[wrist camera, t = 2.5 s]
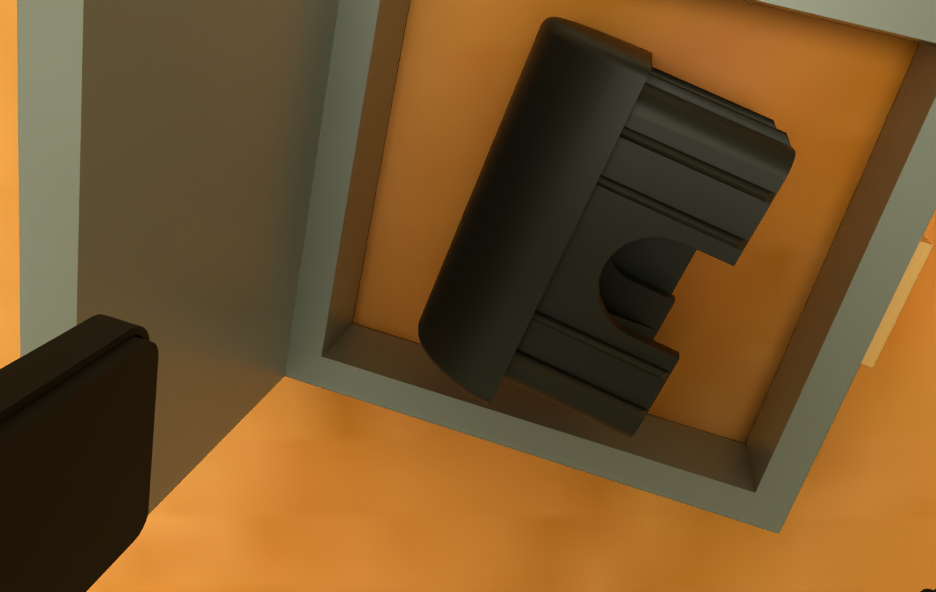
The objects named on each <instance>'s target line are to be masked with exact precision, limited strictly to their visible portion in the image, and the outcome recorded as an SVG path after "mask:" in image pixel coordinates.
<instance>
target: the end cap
mask: <svg viewBox="0 0 936 592" xmlns="http://www.w3.org/2000/svg"><path fill="white" fill-rule="evenodd" d="M794 158H795V150H794V149H793V148H792V147H791V146H790V142H789V139H788V136H787V133H785V132H783V131H781V130H778V129H776V126H775V123H774V121H773V120H772V119H769V118H767V117H765V116H763V115H760V114H758V113H756V112H753V111H751V110H749V109H747V108H744V107H742V106H740V105H738V104H735V103H733V102H731V101H728V100H726V99H724V98H722V97H719V96H717V95H715V94H713V93H710V92H708V91H706V90H703V89H701V88H699V87H697V86H694V85H692V84H690V83H688V82H685V81H683V80H681V79H678V78H676V77H674V76H672V75H669V74H667V73H665V72H663V71H660V70H658V69H656V68H654V67H652V53H650V52H648V51H646V50H643V49H641V48H639V47H636V46H634V45H632V44H629V43H627V42H625V41H622V40H620V39H617V38H615V37H612V36H610V35H607V34H605V33H602V32H600V31H597V30H595V29H592V28H590V27H587V26H584V25H581V24H579V23H575V22H572V21H569V20H566V19H562V18H558V17H549V18H547V19H546V20H544V21H543V23H542V25H541V27H540V29H539V31H538V34H537V36H536V39H535V41H534V44H533V46H532V48H531V51H530V53H529V56H528V58H527V61H526V63H525V65H524V68H523V70H522V73H521V75H520V78H519V80H518V83H517V85H516V87H515V90H514V92H513V95H512V97H511V100H510V102H509V104H508V107H507V109H506V112H505V114H504V117H503V119H502V121H501V124H500V126H499V129H498V131H497V134H496V136H495V138H494V141H493V143H492V146H491V148H490V151H489V153H488V155H487V158H486V160H485V163H484V165H483V168H482V170H481V172H480V175H479V177H478V180H477V182H476V185H475V187H474V189H473V192H472V194H471V197H470V199H469V202H468V204H467V206H466V209H465V211H464V214H463V216H462V219H461V221H460V223H459V226H458V228H457V231H456V233H455V236H454V238H453V241H452V243H451V245H450V248H449V250H448V253H447V255H446V258H445V260H444V262H443V265H442V267H441V270H440V272H439V275H438V277H437V279H436V282H435V284H434V287H433V289H432V292H431V294H430V296H429V299H428V301H427V304H426V306H425V309H424V311H423V313H422V316H421V318H420V321H419V324H418V335H419V339H420V342H421V345H422V348H423V349H424V351H425V352H426V354H427V356H428V357H429V359H430V361H431V362H432V363H433V364H434V365H435V366H436V367H437V369H438V370H439V371H440V372H441V373H442V374H443V375H444V376H445V377H447V378H448V379H449V380H450V381H451V382H452V383H454V384H455V385H456V386H458V387H459V388H461V389H462V390H464V391H465V392H467V393H468V394H469V395H471V396H473V397H475V398H476V399H478V400H480V401H482V402H484V403H486V404H488V405H490V403H491V401H492V399H493V397H494V395H495V393H496V391H497V389H498V387H499V385H500V383H501V381H502V378H503V379H505V380H507V381H510V382H512V383H514V384H516V385H518V386H520V387H522V388H524V389H527V390H529V391H531V392H533V393H535V394H537V395H539V396H541V397H544V398H546V399H548V400H550V401H552V402H554V403H556V404H558V405H561V406H563V407H565V408H567V409H569V410H571V411H573V412H575V413H578V414H580V415H582V416H584V417H586V418H588V419H590V420H592V421H595V422H597V423H599V424H601V425H603V426H605V427H607V428H610V429H612V430H614V431H616V432H618V433H620V434H622V435H624V436H627V437H629V438H631V437H632V436H633V435H634V434H635V433H636V431H637V430H638V428H639V426H640V425H641V423H642V421H643V419H644V418H645V416H646V414H647V413H648V411H649V409H650V408H651V406H652V404H653V402H654V401H655V399H656V397H657V396H658V394H659V392H660V391H661V389H662V387H663V386H664V384H665V382H666V380H667V379H668V377H669V375H670V374H671V372H672V370H673V369H674V367H675V365H676V363H677V362H678V360H679V352H677V351H675V350H673V349H671V348H669V347H666V346H664V345H662V344H660V343H658V342H656V341H653V339H654V337H655V335H656V333H657V332H658V330H659V328H660V326H661V325H662V323H663V321H664V319H665V318H666V316H667V314H668V312H669V311H670V309H671V307H672V305H673V303H674V302H675V297H674V296H673V295H671V294H672V292H673V290H674V289H675V287H676V285H677V283H678V281H679V280H680V278H681V276H682V274H683V273H684V271H685V269H686V267H687V265H688V264H689V262H690V260H691V258H692V257H693V255H694V253H695V251H696V249H697V250H699V251H702V252H704V253H706V254H708V255H710V256H713V257H715V258H717V259H719V260H722V261H724V262H726V263H728V264H730V265H733V266H734V265H735V263H736V262H737V260H738V258H739V257H740V255H741V253H742V252H743V250H744V248H745V247H746V245H747V243H748V241H749V240H750V238H751V236H752V235H753V233H754V231H755V230H756V228H757V226H758V224H759V223H760V221H761V219H762V218H763V216H764V214H765V213H766V211H767V209H768V208H769V206H770V204H771V202H772V201H773V199H774V197H775V196H776V194H777V192H778V191H779V189H780V187H781V185H782V184H783V182H784V180H785V179H786V177H787V175H788V173H789V171H790V169H791V167H792V164H793V161H794Z"/></svg>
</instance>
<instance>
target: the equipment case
mask: <svg viewBox="0 0 936 592" xmlns="http://www.w3.org/2000/svg"><path fill="white" fill-rule="evenodd" d="M744 1H748V2H753V3H757V4H761V5H765V6H769V7H774V8H778V9H782V10H786V11H790V12H794V13H799V14H803V15H807V16H811V17H815V18H820V19H824V20H828V21H832V22H836V23H841V24H845V25H849V26H853V27H857V28H861V29H866V30H870V31H874V32H878V33H882V34H887V35H891V36H895V37H899V38H903V39H908V40H912V41H916V42H920V44H919V46H918V48H917V50H916V53H915V55H914V57H913V60H912V62H911V64H910V67H909V69H908V71H907V73H906V76H905V78H904V80H903V83H902V85H901V87H900V90H899V92H898V94H897V96H896V99H895V101H894V103H893V106H892V108H891V110H890V113H889V115H888V117H887V119H886V122H885V124H884V126H883V129H882V131H881V133H880V136H879V138H878V140H877V142H876V145H875V147H874V149H873V152H872V154H871V156H870V159H869V161H868V163H867V165H866V168H865V170H864V172H863V175H862V177H861V179H860V181H859V184H858V186H857V188H856V191H855V193H854V195H853V198H852V200H851V202H850V204H849V207H848V209H847V211H846V214H845V216H844V218H843V221H842V223H841V225H840V227H839V230H838V232H837V234H836V237H835V239H834V241H833V244H832V246H831V248H830V250H829V253H828V255H827V257H826V260H825V262H824V264H823V267H822V269H821V271H820V273H819V276H818V278H817V280H816V283H815V285H814V287H813V290H812V292H811V294H810V296H809V299H808V301H807V303H806V306H805V308H804V310H803V313H802V315H801V317H800V319H799V322H798V324H797V326H796V329H795V331H794V333H793V335H792V338H791V340H790V342H789V345H788V347H787V349H786V352H785V354H784V356H783V358H782V361H781V363H780V365H779V368H778V370H777V372H776V375H775V377H774V379H773V381H772V384H771V386H770V388H769V391H768V393H767V395H766V398H765V400H764V402H763V404H762V407H761V409H760V411H759V414H758V416H757V418H756V421H755V423H754V425H753V427H752V430H751V432H750V434H749V437H748V439H747V441H746V444H743V443H740V442H737V441H733V440H730V439H727V438H723V437H720V436H717V435H714V434H710V433H707V432H704V431H701V430H697V429H694V428H691V427H688V426H684V425H681V424H678V423H675V422H671V421H668V420H665V419H662V418H658V417H655V416H652V415H649V414H646V416H645V418H644V419H643V421H642V423H641V425H640V426H639V428H638V430H637V431H636V433H635V434H634V435H633V436H632V437H631V438H629V437H627V436H624V435H622V434H620V433H618V432H616V431H614V430H612V429H610V428H607V427H605V426H603V425H601V424H599V423H597V422H595V421H592V420H590V419H588V418H586V417H584V416H582V415H580V414H578V413H575V412H573V411H571V410H569V409H567V408H565V407H563V406H561V405H558V404H556V403H554V402H552V401H550V400H548V399H546V398H544V397H541V396H539V395H537V394H535V393H533V392H531V391H529V390H527V389H524V388H522V387H520V386H518V385H516V384H514V383H512V382H510V381H507V380H505V379H503V378H502V381H501V383H500V385H499V387H498V389H497V391H496V393H495V395H494V397H493V399H492V401H491V403H490V405H488V404H486V403H484V402H482V401H480V400H478V399H476V398H475V397H473V396H471V395H469V394H468V393H467V392H465V391H464V390H462V389H461V388H459V387H458V386H456V385H455V384H454V383H452V382H451V381H450V380H449V379H448V378H447V377H445V376H444V375H443V374H442V373H441V372H440V371H439V370H438V369H437V367H436V366H435V365H434V364H433V363H432V362H431V361H430V359H429V357H428V356H427V354H426V352H425V351H424V349H423V348H422V345H421V344H417V343H414V342H411V341H408V340H404V339H401V338H398V337H395V336H391V335H388V334H385V333H382V332H378V331H375V330H372V329H369V328H365V327H362V326H359V325H356V324H352V321H353V315H354V309H355V304H356V298H357V293H358V287H359V282H360V276H361V271H362V265H363V259H364V254H365V248H366V243H367V237H368V232H369V226H370V220H371V215H372V209H373V204H374V198H375V193H376V187H377V182H378V176H379V170H380V165H381V159H382V154H383V148H384V143H385V137H386V131H387V126H388V120H389V115H390V109H391V104H392V98H393V93H394V87H395V81H396V76H397V70H398V65H399V59H400V54H401V48H402V42H403V37H404V31H405V26H406V20H407V15H408V9H409V4H410V0H17V47H18V145H19V243H20V341H21V357H22V356H24V355H26V354H28V353H29V352H31V351H33V350H35V349H36V348H38V347H40V346H42V345H43V344H45V343H47V342H48V341H50V340H52V339H54V338H55V337H57V336H59V335H61V334H62V333H64V332H66V331H68V330H69V329H71V328H73V327H75V326H76V325H78V324H80V323H82V322H83V321H85V320H87V319H89V318H90V317H92V316H95V315H97V314H103V315H107V316H111V317H114V318H117V319H120V320H123V321H126V322H130V323H133V324H136V325H139V326H142V327H144V328H145V329H146V330H147V332H148V334H149V339H150V341H151V342H154V343H155V344H156V345H157V347H158V352H159V358H158V373H157V389H156V404H155V419H154V435H153V450H152V466H151V481H150V497H149V510H148V514H149V513H150V512H151V511H152V510H153V509H154V508H155V507H156V506H157V505H158V504H159V503H160V502H161V501H162V500H163V499H164V498H165V497H166V496H167V495H168V494H169V493H170V492H171V491H172V490H173V489H174V488H175V487H176V486H177V485H178V484H179V483H180V482H181V481H182V480H183V479H184V478H185V477H186V476H187V475H188V474H189V473H190V472H191V471H192V470H193V469H194V468H195V467H196V466H197V465H198V464H199V463H200V462H201V461H202V460H203V458H204V457H205V456H206V455H207V454H208V453H209V452H210V451H211V450H212V449H213V448H214V447H215V446H216V445H217V444H218V443H219V442H220V441H221V440H222V439H223V438H224V437H225V436H226V435H227V434H228V433H229V432H230V431H231V430H232V429H233V428H234V427H235V426H236V425H237V424H238V423H239V422H240V421H241V420H242V419H243V418H244V417H245V416H246V415H247V414H248V413H249V412H250V411H251V410H252V409H253V408H254V407H255V406H256V405H257V404H258V403H259V401H260V400H261V399H262V398H263V397H264V396H265V395H266V394H267V393H268V392H269V391H270V390H271V389H272V388H273V387H274V386H275V385H276V384H277V383H278V382H279V381H280V380H281V379H282V378H283V377H284V376H286V377H290V378H293V379H296V380H299V381H302V382H305V383H308V384H311V385H315V386H318V387H321V388H324V389H327V390H330V391H333V392H337V393H340V394H343V395H346V396H349V397H352V398H355V399H358V400H362V401H365V402H368V403H371V404H374V405H377V406H380V407H384V408H387V409H390V410H393V411H396V412H399V413H402V414H405V415H409V416H412V417H415V418H418V419H421V420H424V421H427V422H430V423H434V424H437V425H440V426H443V427H446V428H449V429H452V430H456V431H459V432H462V433H465V434H468V435H471V436H474V437H477V438H481V439H484V440H487V441H490V442H493V443H496V444H499V445H503V446H506V447H509V448H512V449H515V450H518V451H521V452H524V453H528V454H531V455H534V456H537V457H540V458H543V459H546V460H549V461H553V462H556V463H559V464H562V465H565V466H568V467H571V468H575V469H578V470H581V471H584V472H587V473H590V474H593V475H596V476H600V477H603V478H606V479H609V480H612V481H615V482H618V483H622V484H625V485H628V486H631V487H634V488H637V489H640V490H643V491H647V492H650V493H653V494H656V495H659V496H662V497H665V498H668V499H672V500H675V501H678V502H681V503H684V504H687V505H690V506H694V507H697V508H700V509H703V510H706V511H709V512H712V513H715V514H719V515H722V516H725V517H728V518H731V519H734V520H737V521H741V522H744V523H747V524H750V525H753V526H756V527H759V528H762V529H766V530H769V531H772V532H775V533H778V534H779V532H780V530H781V528H782V526H783V524H784V522H785V520H786V518H787V516H788V514H789V512H790V510H791V507H792V505H793V503H794V501H795V499H796V497H797V495H798V493H799V491H800V489H801V487H802V485H803V483H804V481H805V478H806V476H807V474H808V472H809V470H810V468H811V466H812V464H813V462H814V460H815V458H816V456H817V454H818V452H819V449H820V447H821V445H822V443H823V441H824V439H825V437H826V435H827V433H828V431H829V429H830V427H831V425H832V422H833V420H834V418H835V416H836V414H837V412H838V410H839V408H840V406H841V404H842V402H843V400H844V398H845V396H846V393H847V391H848V389H849V387H850V385H851V383H852V381H853V379H854V377H855V375H856V373H857V371H858V369H859V367H860V364H862V365H866V366H869V367H874V365H875V363H876V361H877V358H878V356H879V354H880V352H881V350H882V348H883V346H884V344H885V342H886V340H887V338H888V336H889V334H890V332H891V330H892V328H893V326H894V324H895V322H896V320H897V318H898V316H899V314H900V312H901V310H902V308H903V305H904V303H905V301H906V299H907V297H908V295H909V293H910V291H911V289H912V287H913V285H914V283H915V281H916V279H917V277H918V275H919V273H920V271H921V269H922V267H923V265H924V263H925V261H926V259H927V257H928V255H929V252H930V250H931V248H932V246H933V244H932V243H930V242H929V241H928V240H927V239H926V238H925V237H924V236H923V234H924V232H925V230H926V228H927V226H928V223H929V221H930V219H931V217H932V215H933V213H934V211H935V209H936V0H744Z"/></svg>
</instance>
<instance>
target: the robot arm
mask: <svg viewBox="0 0 936 592" xmlns="http://www.w3.org/2000/svg"><path fill="white" fill-rule="evenodd" d="M158 358H159V352H158V347H157V345H156V344H155V343H154V342H151V341H150V339H149V334H148V332H147V330H146V329H145V328H144V327H142V326H139V325H136V324H133V323H130V322H126V321H123V320H120V319H117V318H114V317H111V316H107V315H103V314H97V315H95V316H92V317H90V318H89V319H87V320H85V321H83V322H82V323H80V324H78V325H76V326H75V327H73V328H71V329H69V330H68V331H66V332H64V333H62V334H61V335H59V336H57V337H55V338H54V339H52V340H50V341H48V342H47V343H45V344H43V345H42V346H40V347H38V348H36V349H35V350H33V351H31V352H29V353H28V354H26V355H24V356H22V357H21V358H19V359H17V360H15V361H14V362H12V363H10V364H8V365H7V366H5V367H3V368H1V369H0V592H86V591H87V590H88V589H89V588H90V587H91V586H92V585H93V584H94V583H95V582H96V581H97V580H98V579H99V577H100V576H101V575H102V574H103V573H104V572H105V571H106V570H107V569H108V568H109V567H110V566H111V565H112V564H113V563H114V562H115V561H116V560H117V558H118V557H119V556H120V555H121V554H122V553H123V552H124V551H125V550H126V549H127V548H128V547H129V546H130V545H131V544H132V543H133V542H134V540H135V539H136V538H137V537H138V535H139V534H140V532H141V530H142V529H143V526H144V524H145V522H146V519H147V516H148V510H149V497H150V481H151V466H152V450H153V435H154V419H155V404H156V389H157V373H158ZM920 592H936V589H935V590H932V589H924V590H922V591H920Z"/></svg>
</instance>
